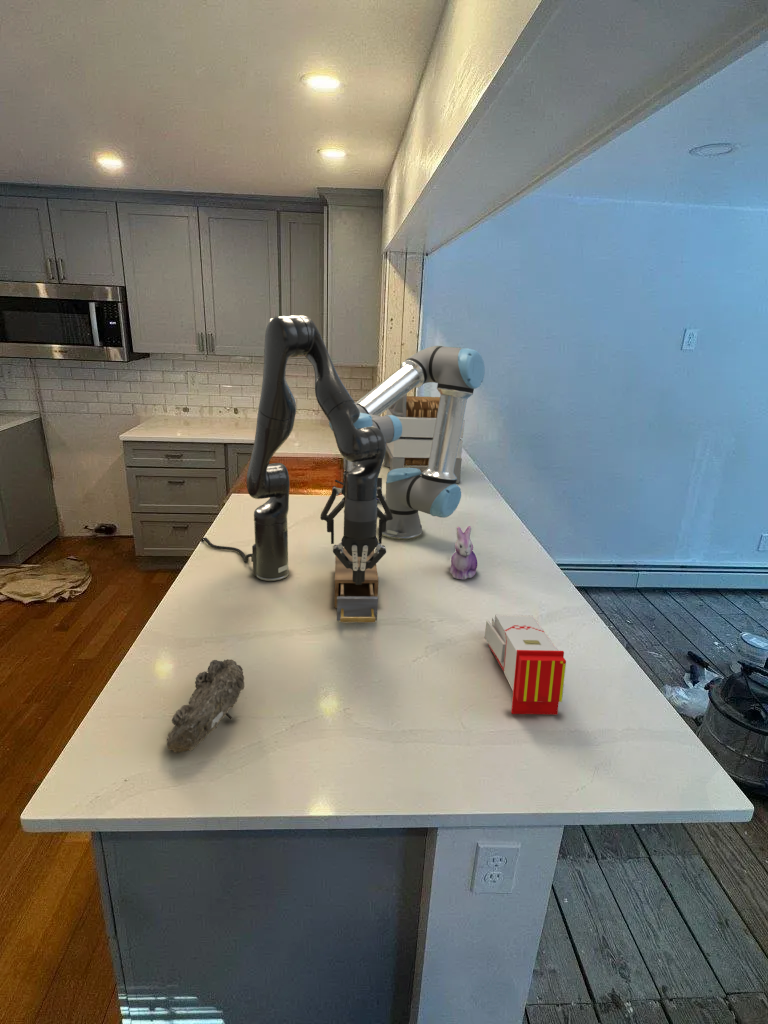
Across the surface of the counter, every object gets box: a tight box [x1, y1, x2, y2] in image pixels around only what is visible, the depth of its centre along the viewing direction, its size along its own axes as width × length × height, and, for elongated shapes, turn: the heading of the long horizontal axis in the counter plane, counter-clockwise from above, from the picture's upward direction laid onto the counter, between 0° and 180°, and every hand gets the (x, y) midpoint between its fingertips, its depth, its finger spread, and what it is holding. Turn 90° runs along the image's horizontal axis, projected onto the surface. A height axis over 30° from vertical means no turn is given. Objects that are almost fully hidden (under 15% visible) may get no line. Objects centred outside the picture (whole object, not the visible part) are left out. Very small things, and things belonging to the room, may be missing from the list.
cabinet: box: [334, 547, 379, 609], centre depth 158 cm, size 21×11×8 cm, turn 4°
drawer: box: [336, 583, 379, 623], centre depth 147 cm, size 25×10×6 cm, turn 4°
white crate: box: [382, 393, 465, 484], centre depth 268 cm, size 34×33×41 cm
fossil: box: [166, 658, 245, 754], centre depth 106 cm, size 22×10×15 cm
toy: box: [484, 614, 567, 716], centre depth 124 cm, size 12×13×30 cm
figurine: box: [449, 525, 479, 580], centre depth 169 cm, size 9×10×15 cm
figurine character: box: [377, 477, 383, 503], centre depth 234 cm, size 7×8×15 cm
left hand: (358, 583), depth 135 cm, fingers closed
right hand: (356, 542), depth 162 cm, fingers open, 13 cm apart
